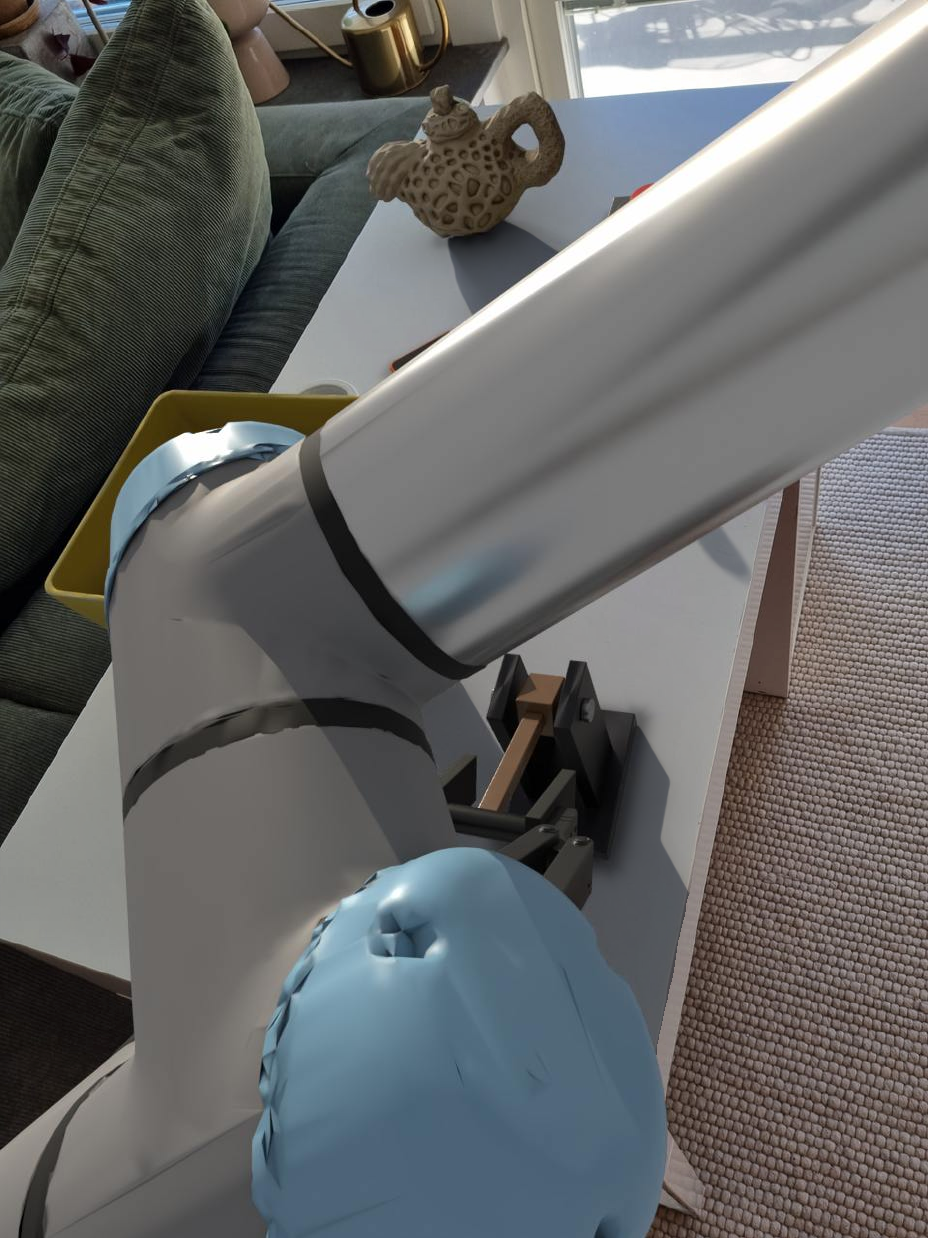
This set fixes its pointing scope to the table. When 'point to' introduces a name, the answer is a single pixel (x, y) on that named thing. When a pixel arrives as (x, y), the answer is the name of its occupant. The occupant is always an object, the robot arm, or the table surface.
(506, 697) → the switch bracket
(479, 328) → the robot arm
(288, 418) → the flower pot
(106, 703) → the table surface
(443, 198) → the teapot
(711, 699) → the table surface
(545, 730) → the switch lever
